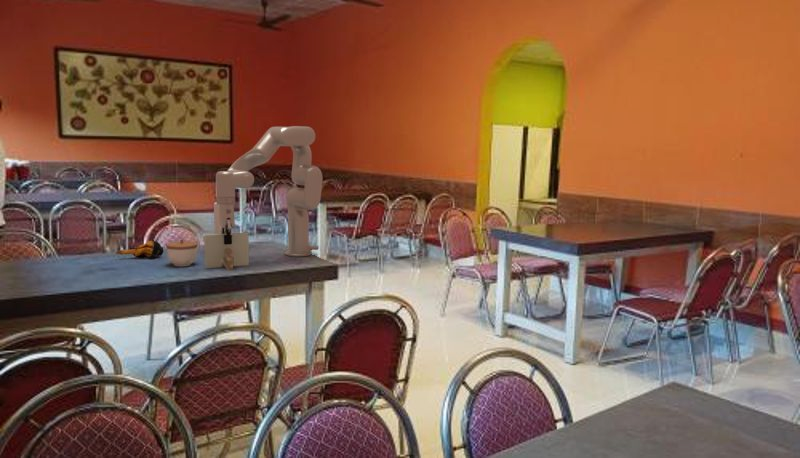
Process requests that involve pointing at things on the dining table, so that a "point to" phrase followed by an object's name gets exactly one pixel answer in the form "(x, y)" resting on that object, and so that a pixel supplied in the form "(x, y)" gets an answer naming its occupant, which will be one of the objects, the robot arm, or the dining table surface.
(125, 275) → the dining table surface
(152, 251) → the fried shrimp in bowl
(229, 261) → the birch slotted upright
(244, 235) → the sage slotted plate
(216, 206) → the cylindrical container
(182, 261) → the lidded bowl
